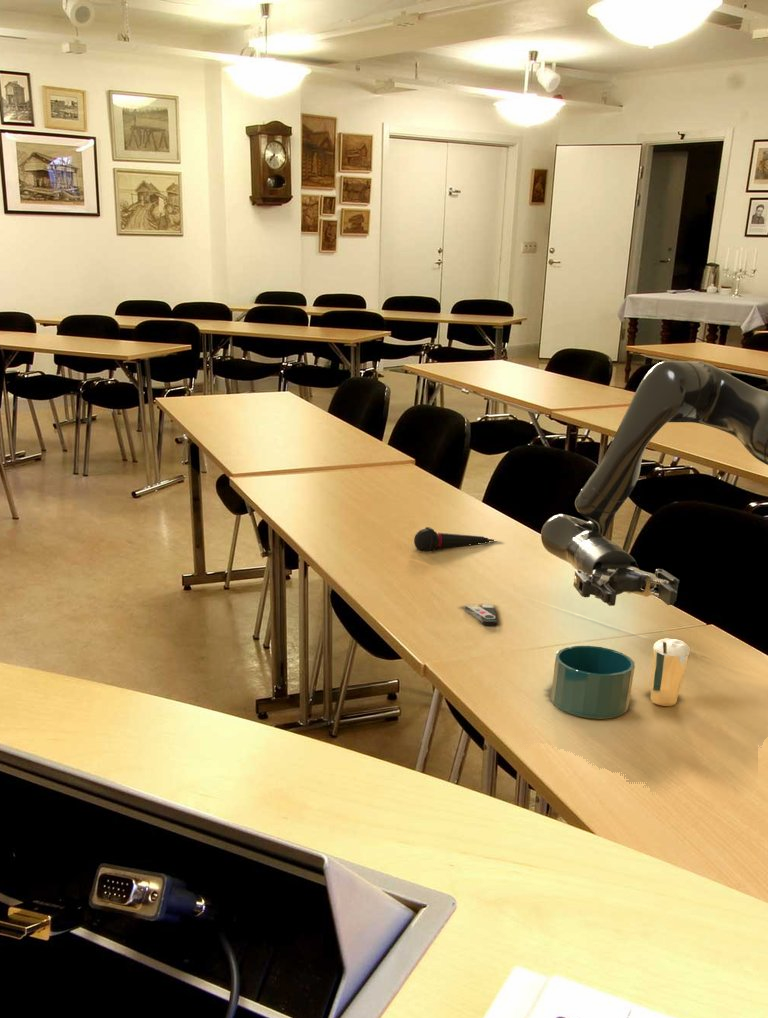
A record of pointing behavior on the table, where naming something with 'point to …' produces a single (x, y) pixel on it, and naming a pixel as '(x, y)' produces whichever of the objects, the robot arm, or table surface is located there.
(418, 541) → the microphone
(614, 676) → the bowl
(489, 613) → the usb flash drive
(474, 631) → the table surface
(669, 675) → the milkshake
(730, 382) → the robot arm
